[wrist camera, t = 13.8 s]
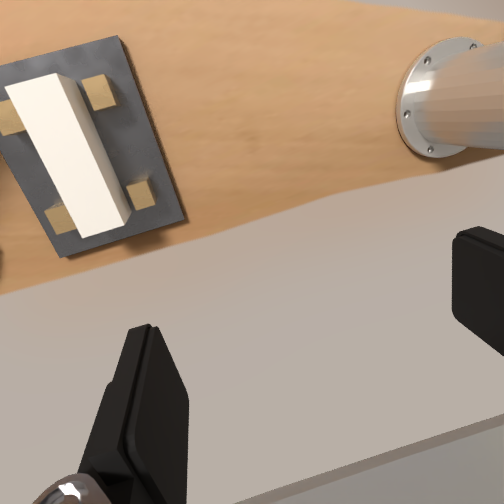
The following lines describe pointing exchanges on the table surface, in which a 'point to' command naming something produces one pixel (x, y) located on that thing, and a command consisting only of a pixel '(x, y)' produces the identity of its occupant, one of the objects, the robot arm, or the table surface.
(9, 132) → the cradle jig
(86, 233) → the white rectangular block
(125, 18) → the table surface
